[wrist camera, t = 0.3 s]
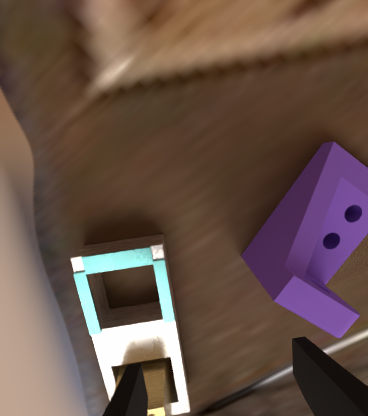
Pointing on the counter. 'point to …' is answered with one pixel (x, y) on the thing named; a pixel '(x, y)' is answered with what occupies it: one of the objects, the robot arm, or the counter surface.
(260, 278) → the bracket
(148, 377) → the beige hollow block
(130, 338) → the white compartment tray
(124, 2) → the counter surface
